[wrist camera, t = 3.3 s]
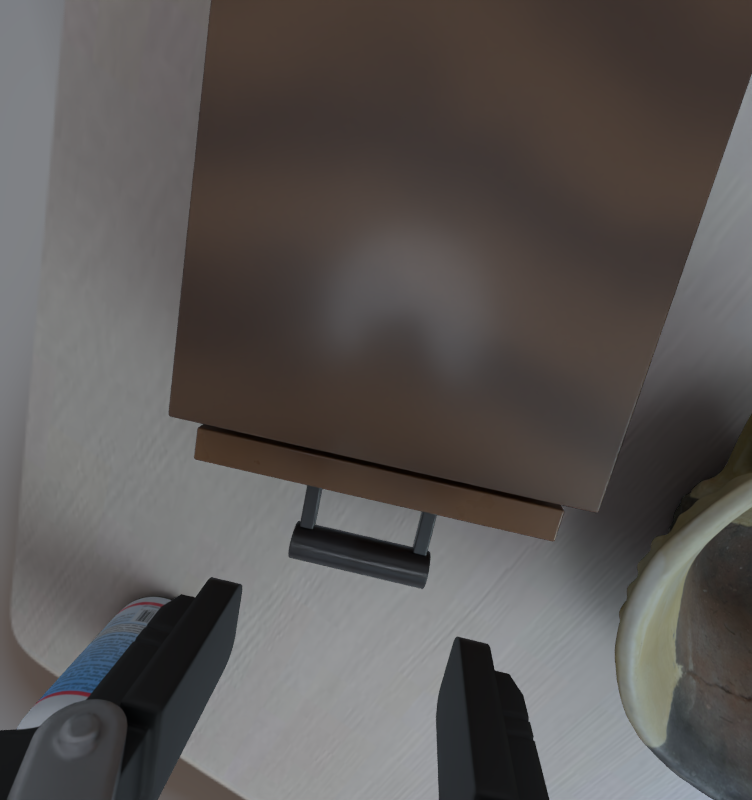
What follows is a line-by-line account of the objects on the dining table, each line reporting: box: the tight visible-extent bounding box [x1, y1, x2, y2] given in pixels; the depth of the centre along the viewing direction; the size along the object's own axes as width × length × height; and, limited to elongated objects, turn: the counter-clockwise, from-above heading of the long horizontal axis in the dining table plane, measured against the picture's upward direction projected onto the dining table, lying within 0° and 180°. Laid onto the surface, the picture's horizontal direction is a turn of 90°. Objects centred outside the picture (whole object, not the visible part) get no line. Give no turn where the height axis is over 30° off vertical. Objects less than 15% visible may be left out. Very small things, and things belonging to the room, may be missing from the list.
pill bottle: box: [17, 597, 171, 729], centre depth 25 cm, size 6×6×11 cm
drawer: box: [194, 424, 564, 589], centre depth 20 cm, size 21×13×9 cm, turn 168°
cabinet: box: [169, 0, 752, 513], centre depth 18 cm, size 17×14×11 cm
